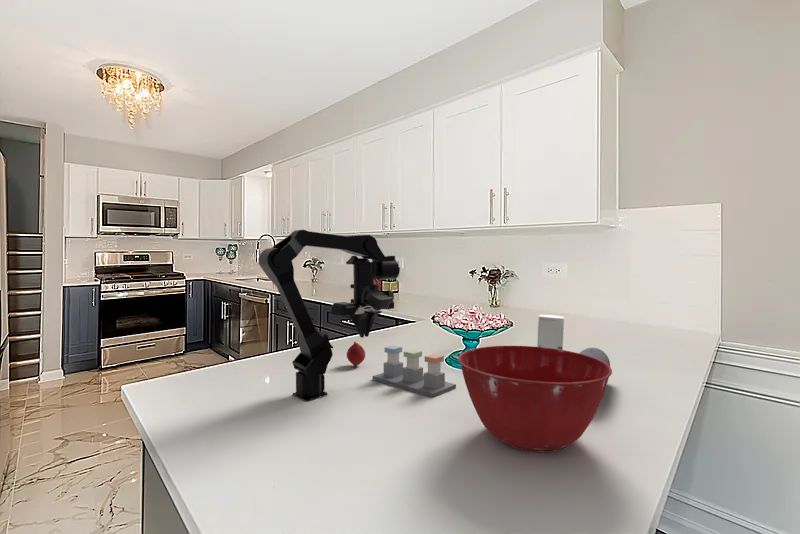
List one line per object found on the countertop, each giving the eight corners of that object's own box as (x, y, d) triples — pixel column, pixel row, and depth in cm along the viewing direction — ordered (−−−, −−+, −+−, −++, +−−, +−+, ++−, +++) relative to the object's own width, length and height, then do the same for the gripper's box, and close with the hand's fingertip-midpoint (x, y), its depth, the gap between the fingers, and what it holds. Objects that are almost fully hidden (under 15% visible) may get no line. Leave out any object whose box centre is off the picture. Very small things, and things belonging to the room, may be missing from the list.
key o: (393, 366, 119) (393, 349, 119) (384, 363, 122) (384, 347, 122) (402, 363, 122) (402, 347, 122) (393, 361, 124) (393, 345, 124)
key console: (432, 397, 106) (432, 379, 106) (372, 379, 121) (372, 363, 121) (456, 388, 113) (456, 371, 113) (396, 372, 128) (396, 357, 128)
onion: (366, 363, 137) (366, 339, 137) (363, 368, 132) (363, 343, 131) (349, 363, 138) (348, 339, 138) (345, 368, 132) (344, 343, 132)
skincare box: (536, 360, 141) (537, 316, 141) (537, 356, 147) (537, 313, 146) (563, 362, 138) (564, 317, 138) (563, 358, 144) (563, 315, 144)
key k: (435, 376, 109) (435, 358, 109) (424, 374, 112) (424, 356, 111) (443, 373, 112) (443, 355, 112) (433, 371, 114) (433, 353, 114)
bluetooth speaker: (575, 377, 122) (576, 343, 122) (611, 383, 118) (612, 347, 117) (561, 402, 103) (561, 361, 102) (603, 409, 98) (604, 367, 98)
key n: (413, 371, 114) (413, 353, 114) (403, 368, 117) (403, 351, 117) (422, 368, 117) (422, 351, 117) (412, 366, 119) (412, 349, 119)
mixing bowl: (497, 400, 104) (497, 338, 103) (626, 432, 86) (627, 357, 85) (430, 440, 82) (431, 362, 81) (585, 494, 64) (586, 394, 63)
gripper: (357, 284, 104) (358, 347, 104) (408, 280, 117) (408, 335, 118) (329, 282, 111) (330, 340, 112) (380, 278, 125) (380, 330, 126)
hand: (364, 337), depth 117 cm, fingers closed
